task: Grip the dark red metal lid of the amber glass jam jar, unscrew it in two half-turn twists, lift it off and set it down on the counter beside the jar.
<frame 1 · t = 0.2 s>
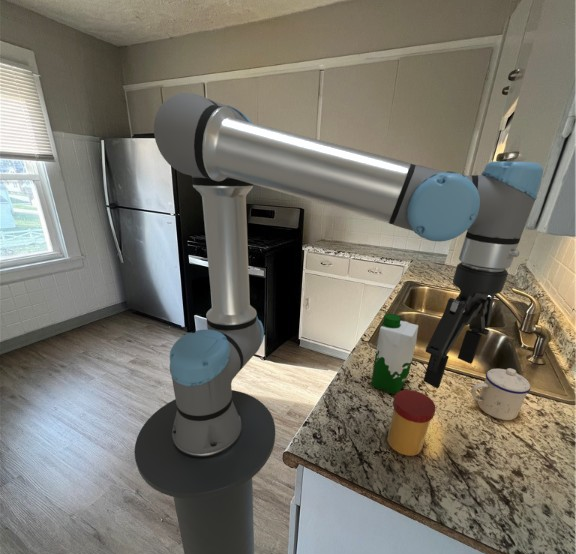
hand: (449, 371, 61), 18 cm above the counter, tool pointing down, fingers open, 13 cm apart
milk carton: (387, 385, 87), on the counter
jam jar: (404, 442, 68), on the counter
jam lid: (414, 403, 63), point 11 cm above the counter, screwed on, not yet turned
teacup with lid: (490, 408, 79), on the counter
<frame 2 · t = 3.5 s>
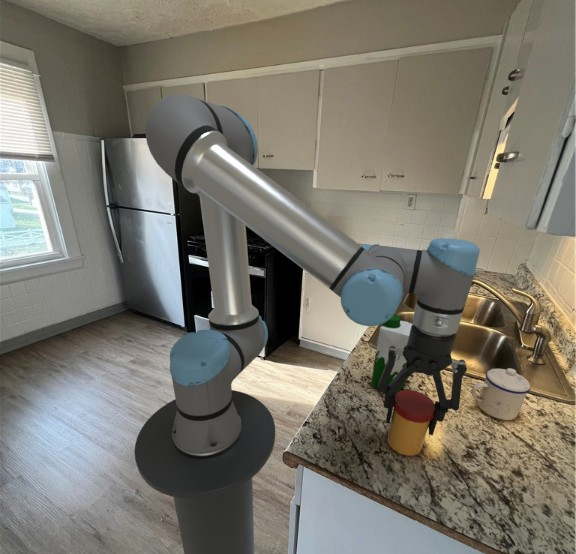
hand: (408, 424, 66), 5 cm above the counter, tool pointing down, fingers closed on jam lid, 8 cm apart
jam lid: (414, 403, 63), point 11 cm above the counter, screwed on, not yet turned, touching gripper
everything else where it was.
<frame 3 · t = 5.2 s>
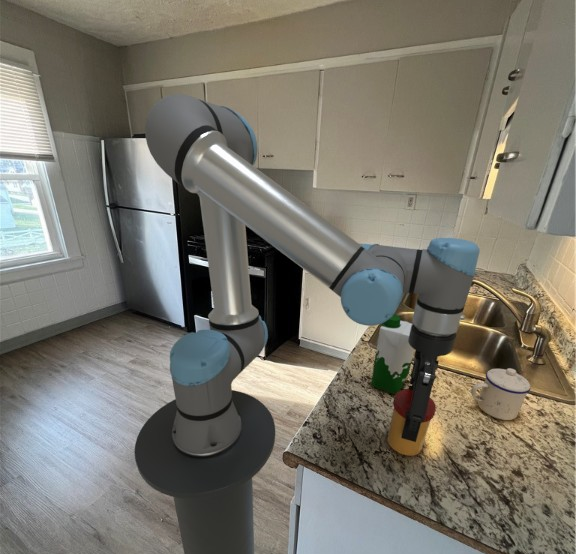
hand: (409, 424, 66), 5 cm above the counter, tool pointing down, fingers closed on jam lid, 8 cm apart
jam lid: (414, 403, 63), point 11 cm above the counter, turned 90° so far, risen 0.1 cm, still on its thread, touching gripper
everything else where it was.
when the fingers open (5 cm above the counter, at t = 6.8 s): jam lid stays where it is, point 11 cm above the counter.
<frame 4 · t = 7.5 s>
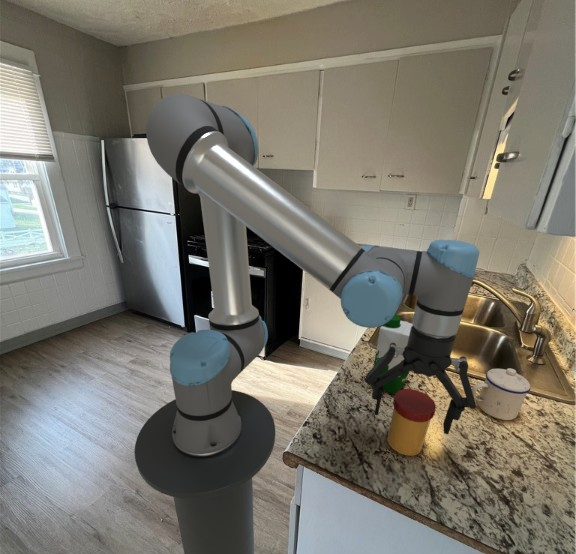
hand: (410, 419, 65), 6 cm above the counter, tool pointing down, fingers open, 13 cm apart
jam lid: (414, 402, 63), point 11 cm above the counter, turned 179° so far, risen 0.2 cm, still on its thread
everything else where it was.
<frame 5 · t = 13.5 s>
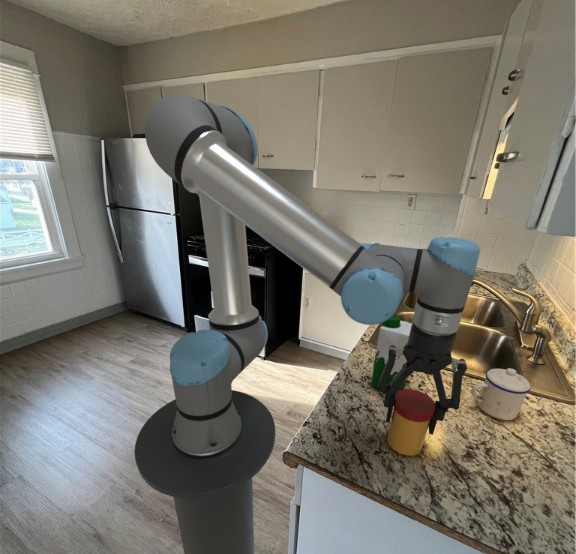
hand: (409, 423, 66), 5 cm above the counter, tool pointing down, fingers closed on jam lid, 8 cm apart
jam lid: (414, 402, 63), point 11 cm above the counter, turned 179° so far, risen 0.3 cm, still on its thread, touching gripper
everything else where it was.
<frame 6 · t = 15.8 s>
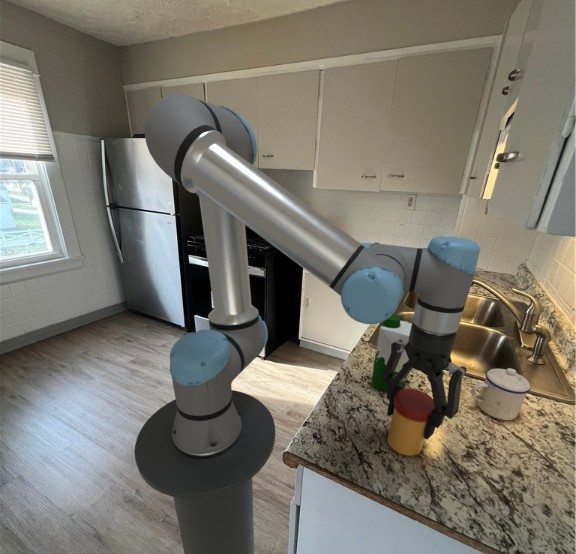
hand: (409, 423, 66), 5 cm above the counter, tool pointing down, fingers closed on jam lid, 8 cm apart
jam lid: (414, 401, 63), point 11 cm above the counter, off its thread, touching gripper
everything else where it was.
when the fingers open (0 cm above the counter, at t = 23.5 s): jam lid drops 5 cm, point 1 cm above the counter.
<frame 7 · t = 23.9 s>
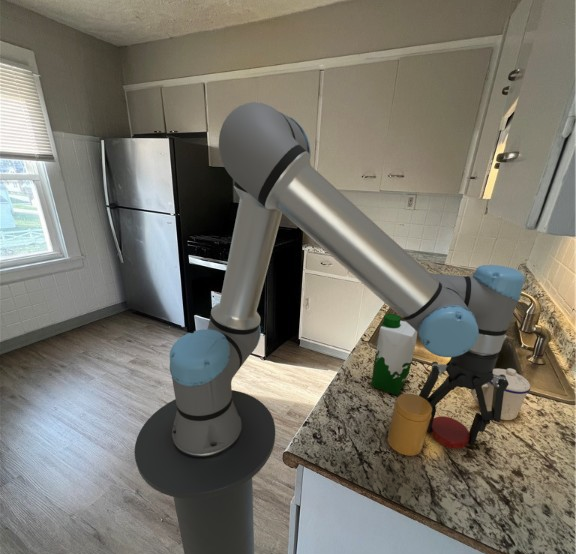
hand: (448, 434, 70), 0 cm above the counter, tool pointing down, fingers open, 8 cm apart
jam lid: (449, 429, 70), point 1 cm above the counter, off its thread
everything else where it was.
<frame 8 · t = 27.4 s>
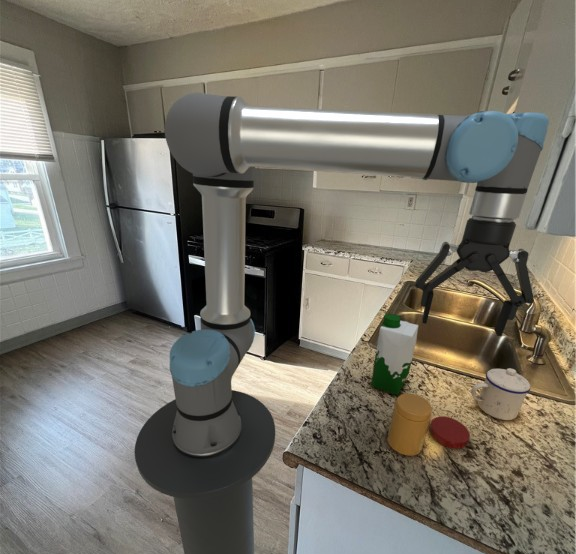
hand: (459, 327, 64), 25 cm above the counter, tool pointing down, fingers open, 13 cm apart
nothing on the counter moved.
at the end: jam lid came off its thread; jam lid point 1.5 cm above the counter; the gripper is holding nothing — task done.
